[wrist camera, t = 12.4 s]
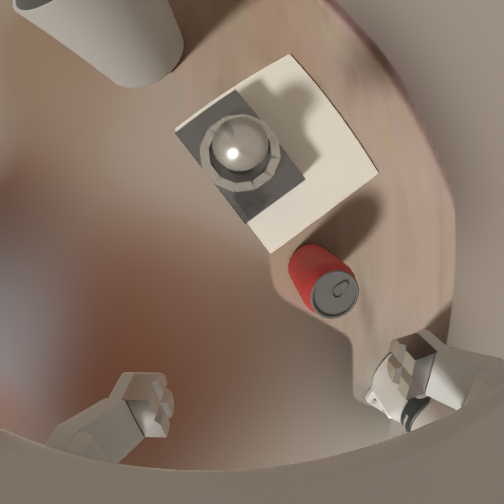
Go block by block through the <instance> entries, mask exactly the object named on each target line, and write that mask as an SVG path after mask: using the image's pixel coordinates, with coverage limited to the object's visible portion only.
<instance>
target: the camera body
mask: <svg viewBox="0 0 504 504" xmlns="http://www.w3.org/2000/svg"><path fill="white" fill-rule="evenodd" d="M236 117H245V118H249V119H252V120H254V121H256V122H257V123H259V124H260V125H261V126H262V127H263V129H264V130H265V132H266V134H267V137H268V151H267V154H266V156H265V157H264V159H263V160H262V161H261V162H260V164H258V165H257V166H256V167H255V168H254V169H253V170H251V171H249V172H246V173H234V172H231V171H229V170H228V169H226V168H225V167H224V166H223V165H222V164H221V163H220V162H219V161H218V160H217V158H216V157H215V155H214V152H213V148H212V141H213V136H214V134H215V132H216V130H217V129H218V127H219V126H220V125H221V124H222V123H224V122H225V121H227V120H229V119H232V118H236ZM175 134H176V135H177V136H178V138H179V139H180V140H181V141H182V143H183V144H184V145H185V147H186V148H187V149H188V150H189V152H190V153H191V154H192V155H193V157H194V158H195V159H196V161H197V162H198V163H199V165H200V166H201V167H202V169H203V170H204V171H205V173H206V174H207V175H208V176H209V178H210V179H211V180H212V182H213V183H214V184H215V185H216V186H217V188H218V189H219V190H220V192H221V193H222V194H223V196H224V197H225V198H226V200H227V201H228V202H229V203H230V205H231V206H232V207H233V209H234V210H235V211H236V213H237V214H238V215H239V217H240V218H241V219H242V220H243V222H244V223H245V224H246V223H247V222H249V221H250V220H251V219H253V218H254V217H255V216H257V215H258V214H259V213H261V212H262V211H263V210H265V209H266V208H268V207H269V206H270V205H272V204H273V203H274V202H276V201H277V200H278V199H280V198H281V197H283V196H284V195H285V194H287V193H288V192H289V191H291V190H292V189H293V188H295V187H296V186H298V185H299V184H300V183H302V182H303V181H305V180H306V179H305V177H304V176H303V175H302V173H301V172H300V170H299V169H298V168H297V166H296V165H295V164H294V162H293V161H292V160H291V158H290V157H289V155H288V154H287V153H286V151H285V150H284V149H283V147H282V146H281V145H280V144H279V140H278V139H277V138H278V137H277V136H276V134H275V133H274V132H273V131H272V129H271V128H270V127H269V126H268V124H267V123H265V121H262V120H261V119H260V118H259V117H258V116H257V114H256V113H255V112H254V111H253V109H252V108H251V107H250V106H249V105H248V103H247V102H246V101H245V100H244V99H243V97H242V96H241V95H240V94H239V93H238V92H237V90H236V89H235V90H234V91H232V92H231V93H229V94H228V95H226V96H225V97H223V98H222V99H220V100H219V101H217V102H216V103H214V104H213V105H211V106H210V107H209V108H207V109H206V110H204V111H203V112H202V113H200V114H199V115H198V116H196V117H195V118H194V119H192V120H191V121H190V122H188V123H187V124H186V125H184V126H183V127H182V128H180V129H179V130H178V131H177V132H175Z"/></svg>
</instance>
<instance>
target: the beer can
mask: <svg viewBox="0 0 504 504" xmlns="http://www.w3.org/2000/svg"><path fill="white" fill-rule="evenodd" d="M288 269H289V274H290V277H291V279H292V281H293V283H294V285H295V287H296V289H297V290H298V292H299V294H300V296H301V298H302V300H303V301H304V303H305V304H306V306H307V307H308V308H309V309H310V310H311V311H313V312H315V313H316V314H318V315H320V316H322V317H323V318H329V319H333V318H339V317H341V316H343V315H345V314H346V313H348V312H349V311H350V310H351V309H352V308H353V306H354V305H355V304H356V301H357V298H358V294H359V288H358V284H357V281H356V279H355V276H354V274H353V272H352V271H351V269H350V268H349V267H348V266H347V265H346V264H344V263H343V262H342V261H340V260H339V259H338V258H337V257H335V256H334V255H333V254H331V253H330V252H329V251H327V250H326V249H324V248H323V247H322V246H319V245H315V244H310V245H305V246H302V247H300V248H299V249H298V250H296V251H295V252H294V254H293V255H292V257H291V258H290V261H289V265H288Z"/></svg>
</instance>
